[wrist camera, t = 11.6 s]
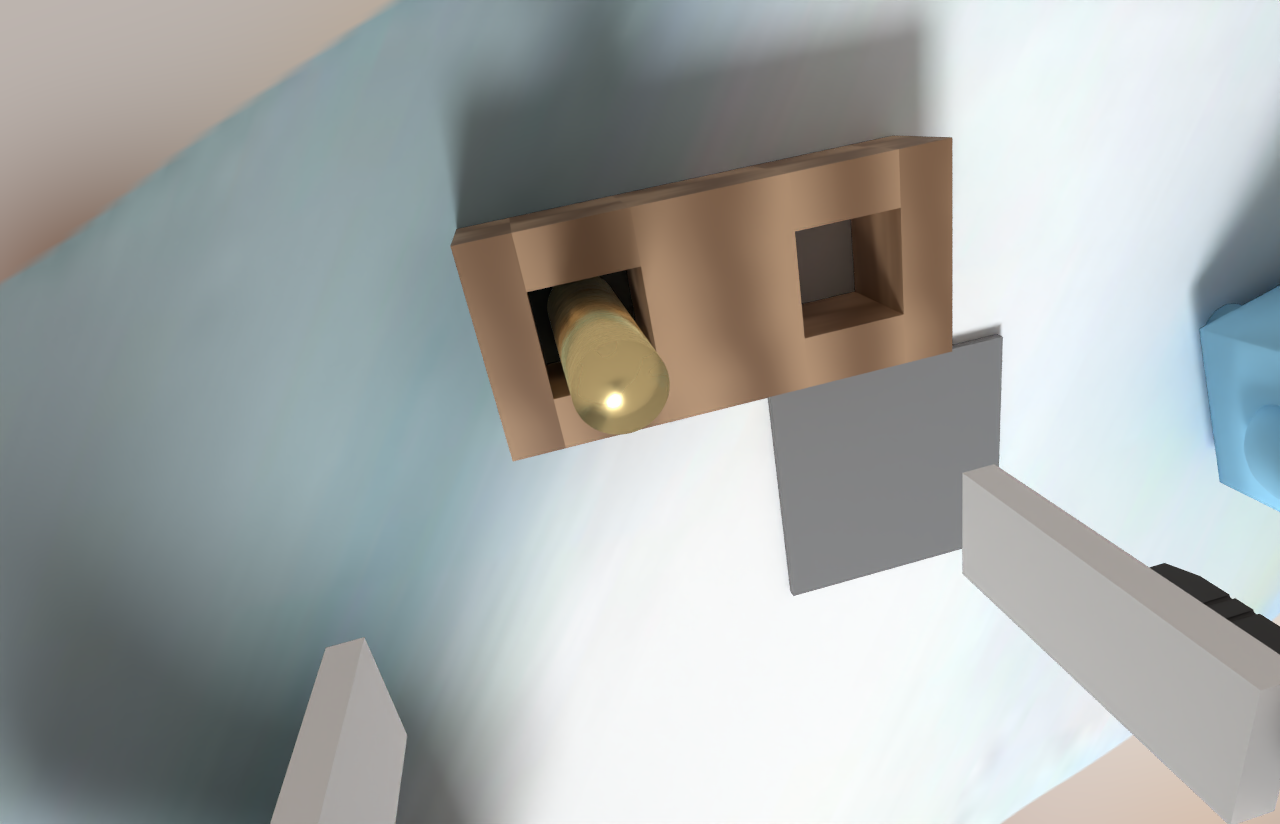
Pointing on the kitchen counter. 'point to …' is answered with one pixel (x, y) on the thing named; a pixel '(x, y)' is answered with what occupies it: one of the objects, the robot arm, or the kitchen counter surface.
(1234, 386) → the teakettle
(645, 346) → the peg
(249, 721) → the kitchen counter surface
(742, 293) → the hole block
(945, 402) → the mat
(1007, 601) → the robot arm
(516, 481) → the kitchen counter surface
